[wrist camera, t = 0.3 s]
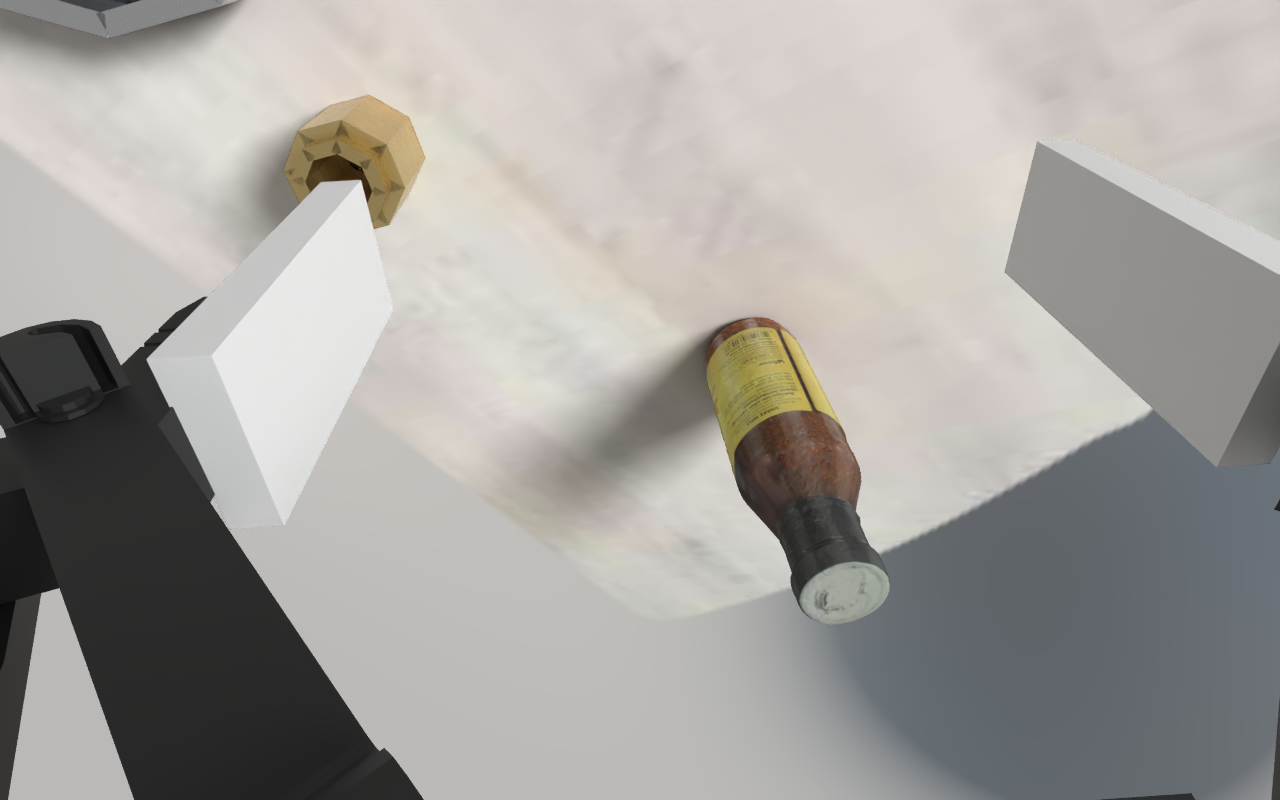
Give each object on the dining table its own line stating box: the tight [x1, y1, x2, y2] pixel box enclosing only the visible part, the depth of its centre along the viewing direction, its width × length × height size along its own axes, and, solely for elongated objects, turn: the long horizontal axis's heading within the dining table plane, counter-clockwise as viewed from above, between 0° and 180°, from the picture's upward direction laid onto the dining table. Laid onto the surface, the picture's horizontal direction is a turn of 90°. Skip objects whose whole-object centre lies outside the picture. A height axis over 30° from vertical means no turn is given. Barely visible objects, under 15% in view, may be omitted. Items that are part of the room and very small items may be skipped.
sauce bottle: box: [706, 318, 890, 624], centre depth 40 cm, size 6×6×20 cm
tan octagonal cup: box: [283, 95, 425, 229], centre depth 37 cm, size 5×5×6 cm
